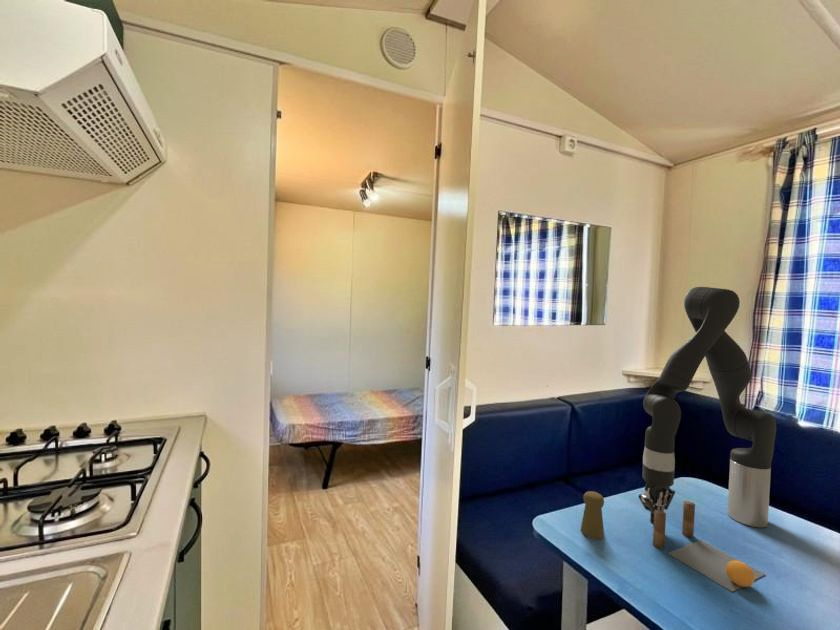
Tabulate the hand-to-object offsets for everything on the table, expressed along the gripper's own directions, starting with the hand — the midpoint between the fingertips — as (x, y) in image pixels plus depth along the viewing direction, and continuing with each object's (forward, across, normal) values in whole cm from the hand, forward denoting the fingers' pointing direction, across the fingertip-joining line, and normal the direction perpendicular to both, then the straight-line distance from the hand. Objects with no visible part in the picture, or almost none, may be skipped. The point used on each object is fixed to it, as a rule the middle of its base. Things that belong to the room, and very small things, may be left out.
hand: (655, 524), depth 107 cm
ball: (-1, +2, +21) cm, 21 cm away
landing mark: (+2, 0, +15) cm, 15 cm away
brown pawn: (+2, +18, -6) cm, 19 cm away
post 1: (+2, +6, +5) cm, 8 cm away
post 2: (+2, -6, +5) cm, 8 cm away
